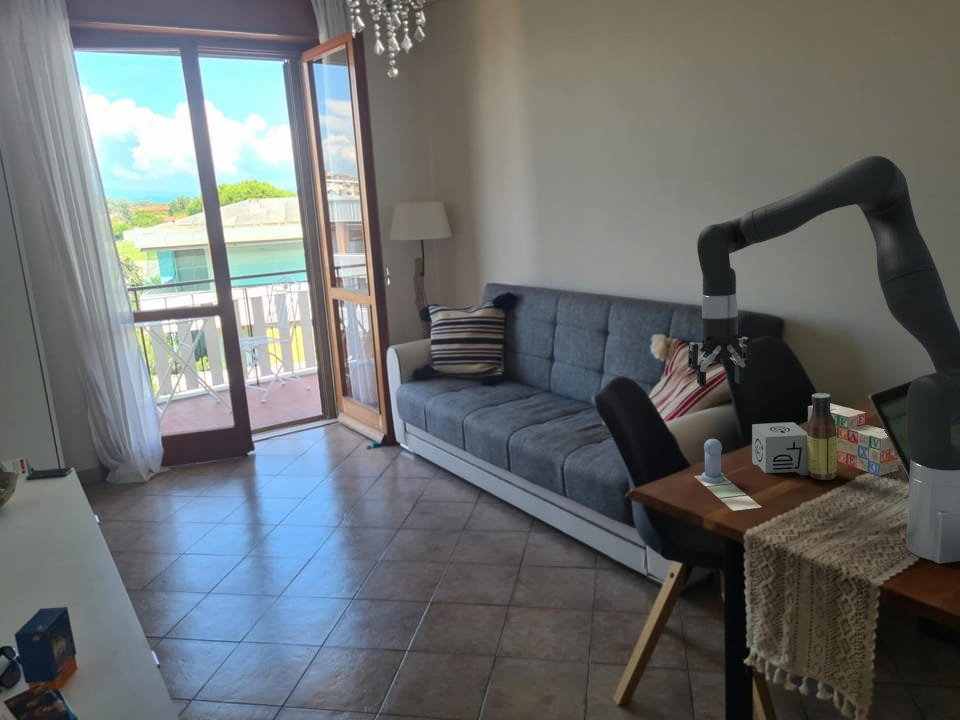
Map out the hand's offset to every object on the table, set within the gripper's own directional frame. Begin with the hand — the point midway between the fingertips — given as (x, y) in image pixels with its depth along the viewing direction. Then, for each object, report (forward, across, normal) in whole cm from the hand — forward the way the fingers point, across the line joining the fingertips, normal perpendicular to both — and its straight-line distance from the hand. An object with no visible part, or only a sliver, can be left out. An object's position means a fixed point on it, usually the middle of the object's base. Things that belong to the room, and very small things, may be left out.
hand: (720, 385), depth 162 cm
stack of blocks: (+24, -36, -5) cm, 44 cm away
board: (+24, +2, +6) cm, 25 cm away
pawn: (+23, +2, -1) cm, 23 cm away
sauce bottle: (+24, -23, +2) cm, 34 cm away
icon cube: (+24, -17, -5) cm, 30 cm away
